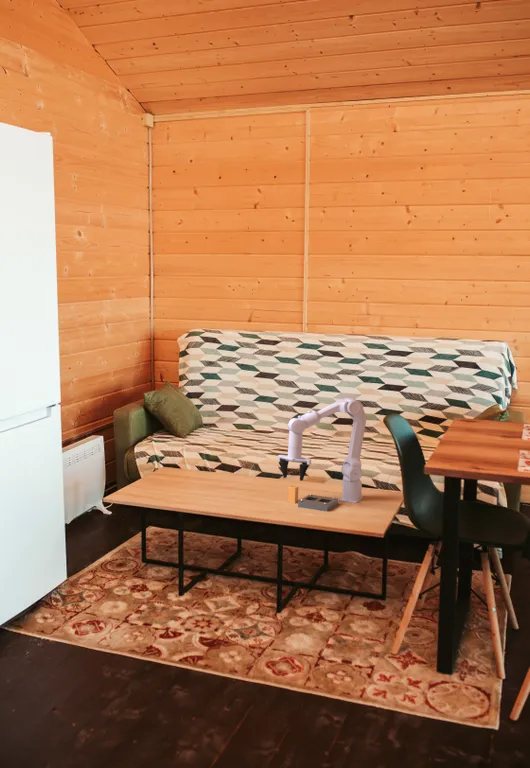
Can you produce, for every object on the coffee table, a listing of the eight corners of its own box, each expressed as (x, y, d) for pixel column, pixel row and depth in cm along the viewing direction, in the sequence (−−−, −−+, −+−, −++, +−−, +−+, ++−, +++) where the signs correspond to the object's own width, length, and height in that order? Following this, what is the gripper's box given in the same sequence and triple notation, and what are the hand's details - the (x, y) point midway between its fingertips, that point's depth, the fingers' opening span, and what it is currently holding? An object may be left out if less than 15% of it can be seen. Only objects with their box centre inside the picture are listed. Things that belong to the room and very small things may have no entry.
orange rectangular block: (291, 500, 330) (291, 485, 330) (298, 501, 329) (298, 486, 328) (288, 502, 328) (288, 487, 327) (294, 503, 326) (295, 488, 325)
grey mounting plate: (309, 500, 331) (309, 493, 331) (337, 504, 326) (338, 497, 325) (298, 506, 321) (298, 499, 320) (327, 511, 315) (327, 504, 315)
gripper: (275, 446, 324) (273, 478, 326) (307, 450, 318) (305, 483, 319) (282, 443, 330) (280, 474, 332) (313, 448, 324) (311, 480, 326)
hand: (293, 478), depth 326 cm, fingers open, 7 cm apart
